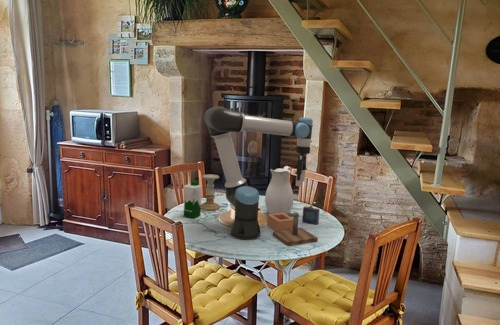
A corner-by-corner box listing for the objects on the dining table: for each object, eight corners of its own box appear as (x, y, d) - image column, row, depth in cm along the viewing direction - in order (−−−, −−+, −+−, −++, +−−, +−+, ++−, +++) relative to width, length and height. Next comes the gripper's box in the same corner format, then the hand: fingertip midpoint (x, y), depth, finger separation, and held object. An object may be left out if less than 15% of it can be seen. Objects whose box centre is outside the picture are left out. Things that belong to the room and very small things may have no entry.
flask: (318, 223, 211) (320, 205, 209) (317, 225, 208) (319, 206, 206) (302, 221, 214) (303, 203, 212) (301, 222, 211) (302, 204, 210)
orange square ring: (277, 232, 194) (278, 221, 193) (266, 225, 205) (267, 214, 204) (294, 230, 199) (294, 219, 197) (282, 223, 209) (283, 212, 208)
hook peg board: (287, 246, 177) (289, 218, 174) (272, 235, 190) (273, 209, 188) (317, 241, 184) (319, 215, 182) (300, 231, 197) (302, 206, 195)
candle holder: (195, 208, 229) (196, 176, 226) (208, 203, 239) (208, 173, 236) (211, 212, 223) (212, 179, 219) (223, 207, 233) (224, 175, 230)
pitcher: (286, 219, 215) (289, 172, 210) (259, 214, 222) (262, 168, 217) (299, 209, 236) (302, 166, 231) (274, 205, 243) (277, 163, 238)
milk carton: (202, 215, 217) (203, 181, 213) (194, 219, 208) (195, 184, 205) (189, 212, 220) (190, 179, 216) (181, 217, 212) (181, 182, 208)
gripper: (307, 148, 193) (303, 189, 197) (313, 144, 217) (309, 180, 220) (292, 147, 195) (289, 187, 199) (300, 143, 219) (297, 178, 222)
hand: (300, 183), depth 210 cm, fingers open, 13 cm apart
